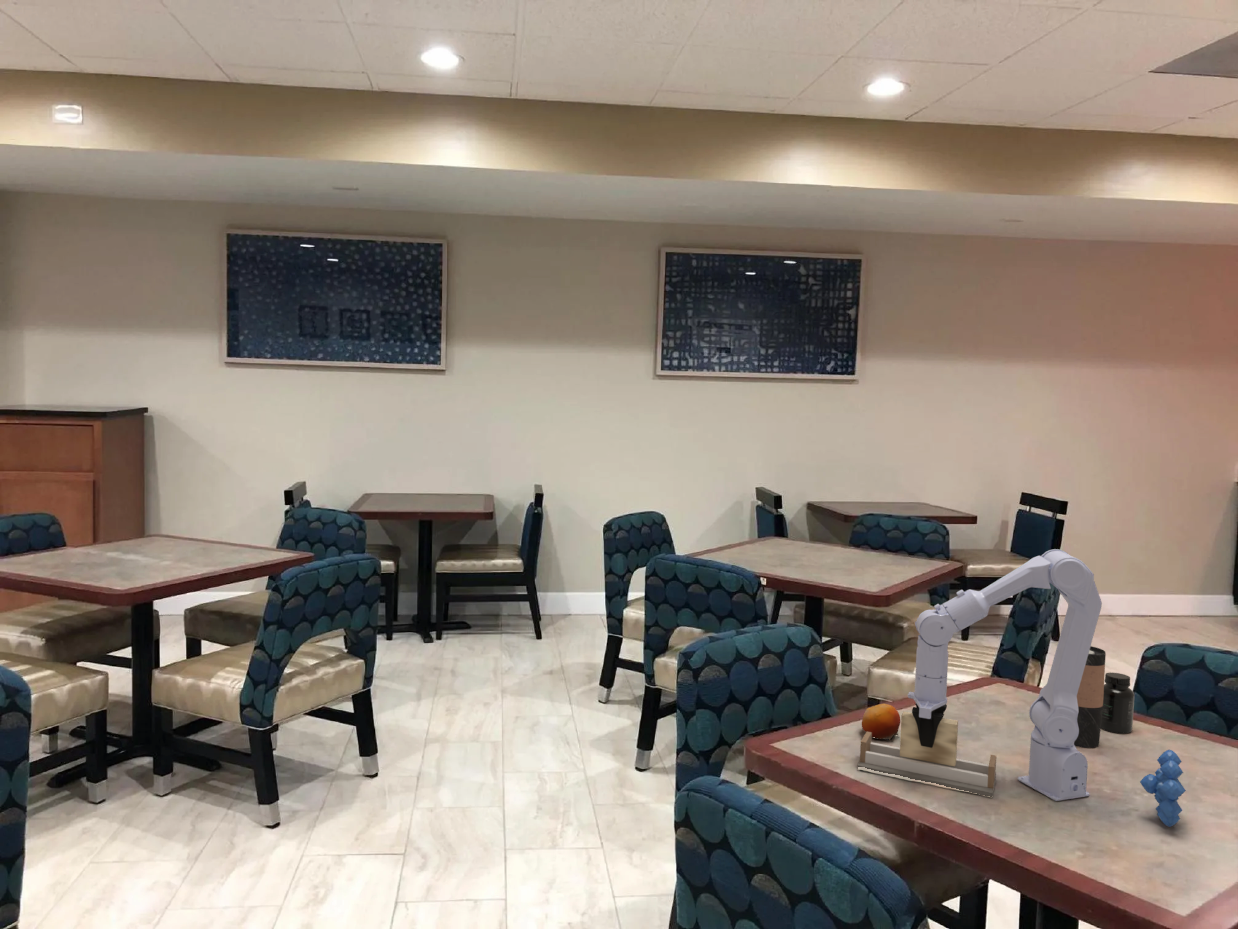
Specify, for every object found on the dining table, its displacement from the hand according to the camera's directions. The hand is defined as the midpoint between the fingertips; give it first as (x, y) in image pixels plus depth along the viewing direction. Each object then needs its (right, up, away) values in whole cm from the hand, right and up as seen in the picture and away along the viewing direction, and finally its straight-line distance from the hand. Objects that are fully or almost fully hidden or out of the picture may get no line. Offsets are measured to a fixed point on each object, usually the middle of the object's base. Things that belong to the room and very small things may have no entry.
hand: (927, 743), depth 167 cm
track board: (0, -6, 0) cm, 6 cm away
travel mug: (+39, -6, +19) cm, 44 cm away
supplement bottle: (+51, -6, +27) cm, 58 cm away
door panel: (0, -3, 0) cm, 3 cm away
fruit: (-3, -5, +19) cm, 20 cm away
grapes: (+35, -8, -16) cm, 39 cm away
